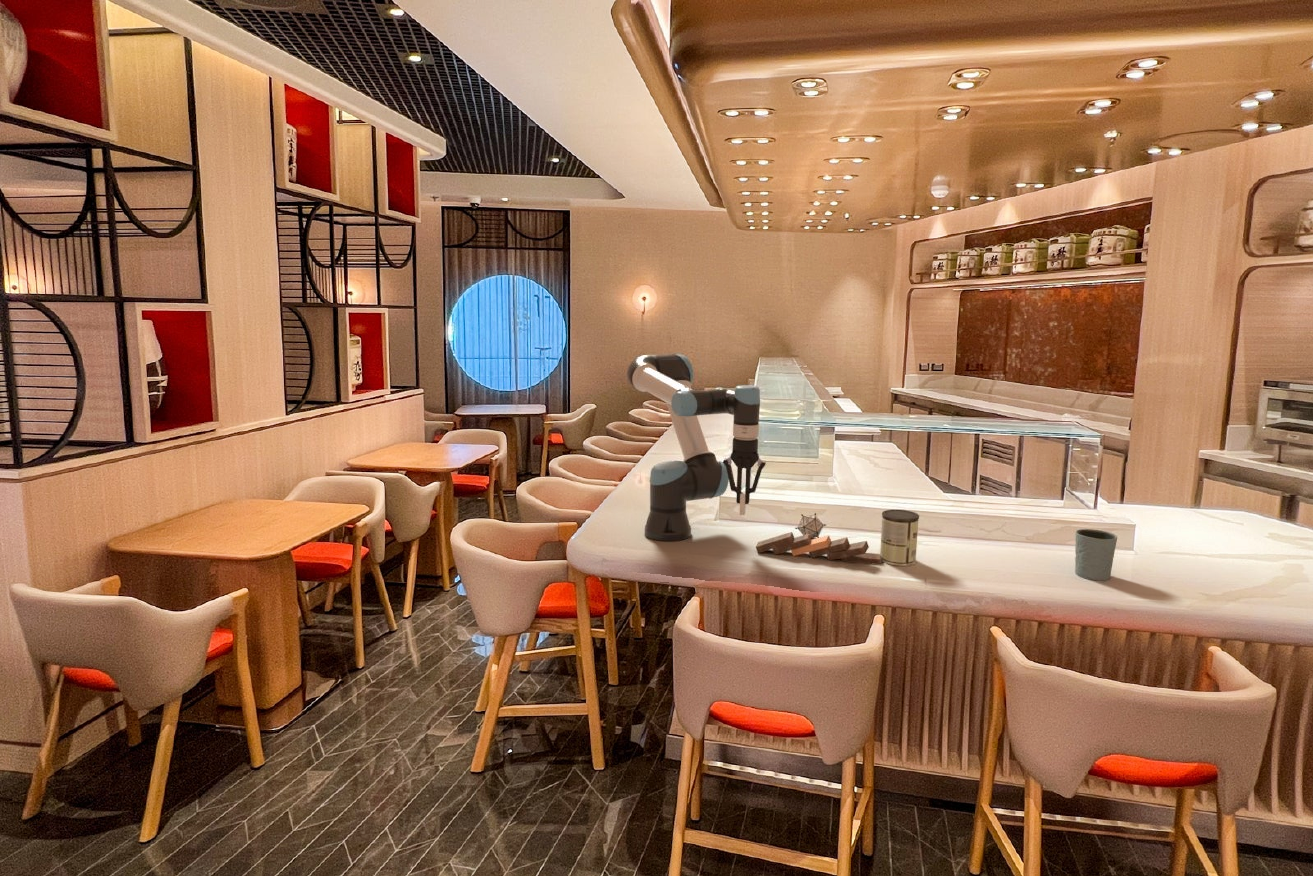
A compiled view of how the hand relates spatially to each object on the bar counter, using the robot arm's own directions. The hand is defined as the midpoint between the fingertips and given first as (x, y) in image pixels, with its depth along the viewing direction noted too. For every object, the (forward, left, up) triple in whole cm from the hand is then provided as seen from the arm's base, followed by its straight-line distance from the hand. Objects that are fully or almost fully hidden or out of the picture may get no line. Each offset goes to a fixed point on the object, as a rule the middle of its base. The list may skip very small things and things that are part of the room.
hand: (742, 513), depth 231 cm
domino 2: (+10, +4, -10) cm, 14 cm away
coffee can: (+40, +23, -11) cm, 47 cm away
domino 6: (+27, +13, -11) cm, 32 cm away
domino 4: (+19, +9, -10) cm, 23 cm away
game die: (+10, +23, -11) cm, 28 cm away
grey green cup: (+85, +48, -11) cm, 98 cm away
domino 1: (+5, +2, -10) cm, 11 cm away
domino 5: (+24, +11, -10) cm, 28 cm away
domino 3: (+14, +7, -10) cm, 19 cm away
